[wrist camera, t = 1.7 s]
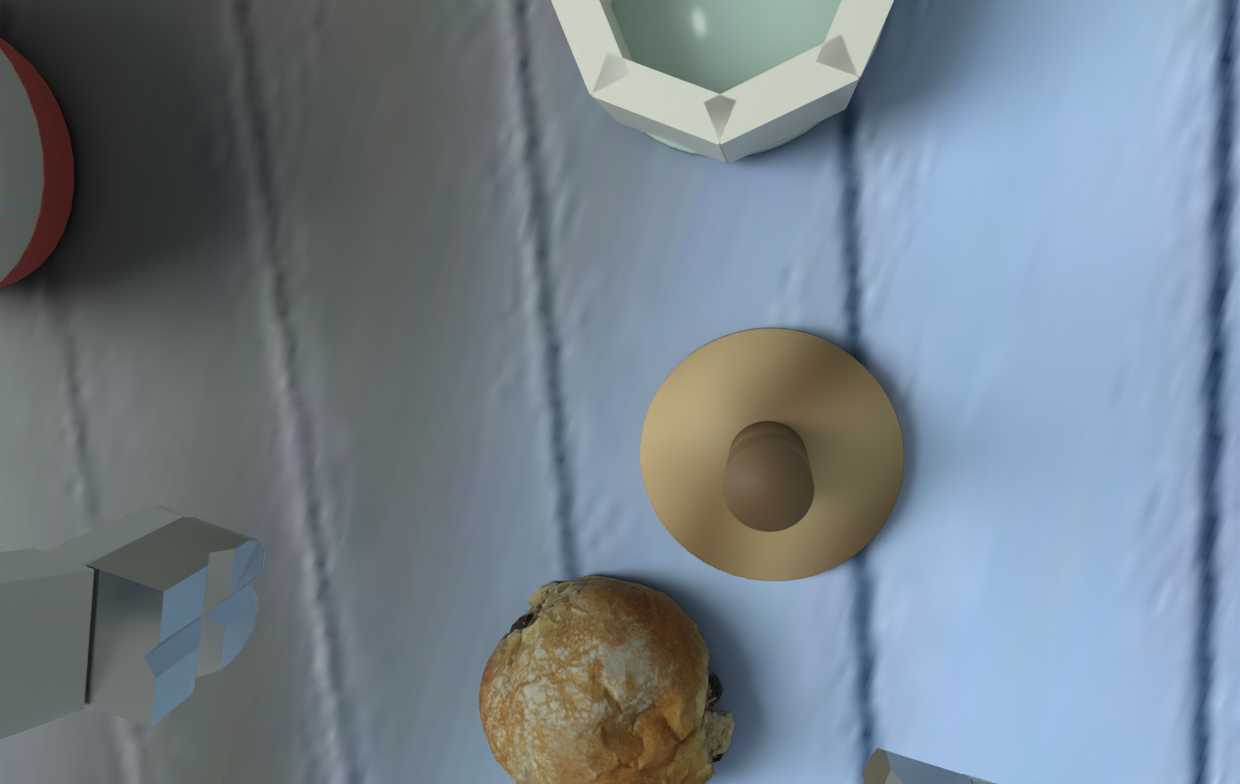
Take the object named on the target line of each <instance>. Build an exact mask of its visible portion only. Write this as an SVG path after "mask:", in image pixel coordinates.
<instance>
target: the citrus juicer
mask: <svg viewBox="0 0 1240 784" xmlns="http://www.w3.org/2000/svg"><path fill="white" fill-rule="evenodd" d="M73 192H74V158H73V153H72V147H71V142H70V136H69V132H68V129H67V126H66V123H65V121H64V118H63V115H62V112H61V109H60V107H59V105H58V103H57V101H56V99H55V98H54V96H53V94H52V92H51V90H50V88H49V86H48V85H47V83H46V82H45V81H44V79H43V78H42V77H41V76H40V74H39V73H38V72H37V70H36V69H35V68H34V66H33V65H32V64H31V63H30V62H29V61H27V60H26V59H25V58H24V57H23V56H22V55H21V54H20V53H19V52H18V51H16V50H15V49H14V48H13V47H12V46H10V45H9V44H8V43H7V42H5V41H4V40H3V39H2V38H0V289H2V288H5V287H7V286H9V285H11V284H13V283H15V282H17V281H19V280H21V279H23V278H24V277H26V276H27V275H29V274H30V273H32V272H33V271H34V270H36V269H37V268H39V267H40V266H41V265H42V263H43V262H44V261H45V260H46V259H47V258H48V257H49V256H50V255H51V253H52V252H53V251H54V249H55V247H56V245H57V244H58V242H59V240H60V238H61V237H62V235H63V233H64V230H65V227H66V224H67V221H68V218H69V215H70V212H71V206H72V199H73Z"/></svg>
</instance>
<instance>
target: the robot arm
mask: <svg viewBox="0 0 1240 784" xmlns="http://www.w3.org/2000/svg"><path fill="white" fill-rule="evenodd" d="M264 552H265V549H264V548H263V546H262V545H261V543H260V542H259V540H256V539H254V538H251V537H248V536H245V535H242V534H240V533H237V532H234V531H231V530H228V529H226V528H223V527H220V526H217V525H214V524H212V523H209V522H206V521H203V520H201V519H198V518H195V517H191V516H189V515H187V514H184V513H181V512H178V511H174V510H171V509H168V508H165V507H162V506H151V505H149V506H147V507H145V508H143V509H140V510H138V511H136V512H134V513H131V514H129V515H127V516H125V517H122V518H120V519H118V520H116V521H113V522H111V523H109V524H107V525H104V526H102V527H100V528H98V529H96V530H93V531H91V532H89V533H87V534H84V535H82V536H80V537H78V538H75V539H73V540H71V541H69V542H66V543H64V544H62V545H60V546H57V547H55V548H53V549H51V550H48V551H46V552H44V551H41V550H38V549H35V548H32V549H24V550H15V551H6V552H0V739H3V738H6V737H8V736H11V735H14V734H17V733H19V732H22V731H25V730H28V729H30V728H33V727H36V726H39V725H41V724H44V723H47V722H49V721H52V720H55V719H58V718H60V717H63V716H66V715H69V714H71V713H74V712H77V711H80V710H82V709H84V708H85V705H87V706H90V707H93V708H96V709H99V710H101V711H104V712H107V713H110V714H113V715H116V716H119V717H122V718H125V719H128V720H131V721H134V722H137V723H140V724H143V725H146V726H149V727H151V726H152V725H154V724H155V723H156V722H157V721H159V720H160V719H161V718H162V717H163V716H165V715H166V714H167V713H168V712H170V711H171V710H172V709H173V708H174V707H176V706H177V705H178V704H179V703H181V702H182V701H183V700H184V699H185V698H187V697H188V696H189V695H190V694H192V693H193V690H194V682H195V677H198V676H202V675H205V674H209V673H213V672H216V671H220V670H221V669H222V668H223V667H224V666H225V665H226V664H228V663H229V662H230V661H231V660H232V659H233V658H235V657H236V655H237V654H238V652H239V651H240V649H241V648H242V646H243V645H244V644H245V642H246V641H247V639H248V638H249V636H250V633H251V631H252V628H253V625H254V623H255V620H256V615H257V609H258V602H259V601H258V599H257V597H256V595H255V593H254V590H253V588H252V586H251V584H250V583H251V582H252V581H253V580H254V579H255V578H256V577H258V576H259V575H260V574H261V573H262V572H263V563H264ZM863 779H864V784H996V783H992V782H989V781H986V780H982V779H979V778H975V777H972V776H969V775H965V774H960V773H956V772H953V771H950V770H947V769H944V768H940V767H937V766H934V765H931V764H928V763H924V762H921V761H918V760H915V759H912V758H908V757H905V756H902V755H899V754H896V753H892V752H889V751H886V750H883V749H880V748H877V749H876V750H875V752H874V753H873V754H872V756H871V757H870V759H869V761H868V763H867V766H866V768H865V771H864V773H863Z"/></svg>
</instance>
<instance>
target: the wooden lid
mask: <svg viewBox="0 0 1240 784" xmlns="http://www.w3.org/2000/svg"><path fill="white" fill-rule="evenodd" d="M640 459H641V471H642V476H643V480H644V485H645V488H646V491H647V494H648V497H649V500H650V502H651V504H652V506H653V508H654V510H655V512H656V514H657V516H658V517H659V519H660V520H661V522H662V523H663V525H664V526H665V528H666V529H667V530H668V531H669V533H670V534H671V535H672V536H673V537H674V538H675V539H676V541H677V542H679V543H680V544H681V545H682V546H683V547H684V548H685V549H686V550H688V551H689V552H690V553H691V554H693V555H694V556H696V557H697V558H699V559H700V560H702V561H703V562H705V563H707V564H709V565H711V566H712V567H714V568H716V569H718V570H721V571H724V572H726V573H729V574H732V575H735V576H739V577H743V578H747V579H753V580H761V581H788V580H796V579H802V578H806V577H810V576H814V575H817V574H820V573H822V572H825V571H827V570H830V569H832V568H834V567H836V566H838V565H840V564H842V563H843V562H845V561H847V560H848V559H850V558H851V557H852V556H854V555H855V554H857V553H858V552H859V551H861V550H862V549H863V548H864V547H865V546H866V545H867V544H868V543H869V542H870V541H871V540H872V539H873V538H874V537H875V535H876V534H877V533H878V532H879V530H880V529H881V528H882V527H883V525H884V523H885V522H886V520H887V518H888V517H889V515H890V513H891V511H892V509H893V507H894V504H895V502H896V500H897V497H898V494H899V490H900V486H901V483H902V478H903V469H904V445H903V439H902V433H901V428H900V425H899V422H898V419H897V415H896V412H895V410H894V408H893V406H892V404H891V402H890V400H889V398H888V396H887V395H886V393H885V392H884V390H883V389H882V387H881V386H880V384H879V383H878V381H877V380H876V379H875V378H874V377H873V376H872V375H871V373H870V372H869V371H868V370H867V369H866V368H865V367H864V366H863V365H862V364H861V363H859V362H858V361H857V360H856V359H855V358H854V357H853V356H851V355H850V354H849V353H847V352H846V351H844V350H843V349H841V348H840V347H838V346H836V345H835V344H833V343H831V342H828V341H826V340H824V339H822V338H820V337H817V336H814V335H811V334H808V333H805V332H801V331H796V330H790V329H782V328H758V329H749V330H744V331H739V332H735V333H732V334H729V335H726V336H723V337H720V338H718V339H716V340H714V341H712V342H710V343H708V344H706V345H704V346H702V347H701V348H699V349H698V350H696V351H695V352H693V353H692V354H691V355H689V356H688V357H687V358H686V359H685V360H684V361H682V362H681V363H680V364H679V365H678V366H677V367H676V368H675V370H674V371H673V372H672V373H671V374H670V375H669V376H668V377H667V379H666V380H665V381H664V383H663V384H662V386H661V387H660V389H659V390H658V392H657V393H656V395H655V397H654V399H653V401H652V403H651V405H650V407H649V410H648V413H647V416H646V419H645V422H644V426H643V431H642V437H641V449H640Z"/></svg>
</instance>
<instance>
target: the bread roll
mask: <svg viewBox="0 0 1240 784" xmlns="http://www.w3.org/2000/svg"><path fill="white" fill-rule="evenodd" d="M527 601H528V602H529V603H530V604H531V605H532V606H533V607H532V608H531V609H530V610H529V611H528V612H527V613H526V614H525V615H524V616H522V617H520V618H519V619H518V620H517V621H516V622H515V623H514V624H513V625H512V627H511V630H510V633H508V634H506V635H505V636H504V637H503V638H502V639H501V640H500V641H499V643H498V645H497V646H496V648H495V650H494V651H493V653H492V654H491V656H490V658H489V660H488V663H487V665H486V668H485V670H484V673H483V676H482V681H481V686H480V693H479V709H480V716H481V720H482V725H483V729H484V732H485V734H486V737H487V740H488V742H489V745H490V748H491V751H492V753H493V755H494V757H495V759H496V761H497V762H498V763H500V765H501V766H502V767H503V768H504V769H505V770H506V771H507V772H508V774H509V775H510V777H511V778H512V779H513V781H514V782H515V783H516V784H705V783H706V782H707V781H708V780H709V779H710V778H711V777H712V776H713V775H714V774H715V772H714V769H713V762H716V761H720V759H721V758H722V756H723V754H724V753H725V752H726V751H727V750H728V748H729V747H730V745H731V738H732V734H733V731H734V730H735V723H734V721H733V714H732V712H731V710H730V711H729V712H728V713H726V712H724V711H721V712H720V713H719V714H718V713H717V712H716V711H715V708H716V702H717V701H718V700H719V699H720V696H721V694H722V691H723V686H722V685H721V683H720V681H719V679H718V677H717V676H716V675H714V674H713V673H712V672H711V671H710V668H709V660H710V656H711V655H710V652H709V649H708V646H707V644H706V642H705V640H704V639H703V637H702V636H701V634H700V632H699V631H698V629H697V623H696V622H694V621H692V620H691V618H690V617H689V616H688V615H687V614H686V613H685V612H684V611H683V610H682V608H681V607H680V606H679V605H678V604H677V603H676V602H675V601H673V600H672V599H671V598H670V597H669V596H668V595H667V594H665V593H663V592H658V591H655V590H653V589H652V588H649V587H647V586H643V585H642V584H640V583H639V582H636V583H633V582H627V581H621V580H618V579H615V578H610V577H604V576H585V577H582V578H579V579H576V580H573V581H568V582H563V583H559V584H558V583H557V582H555V581H553V582H550V583H549V584H547V585H544V586H542V587H540V588H538V589H537V590H535V591H534V592H533V593H532V595H531V596H530V597H529V598H528V600H527ZM692 732H693V733H692ZM694 735H695V736H694Z"/></svg>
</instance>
